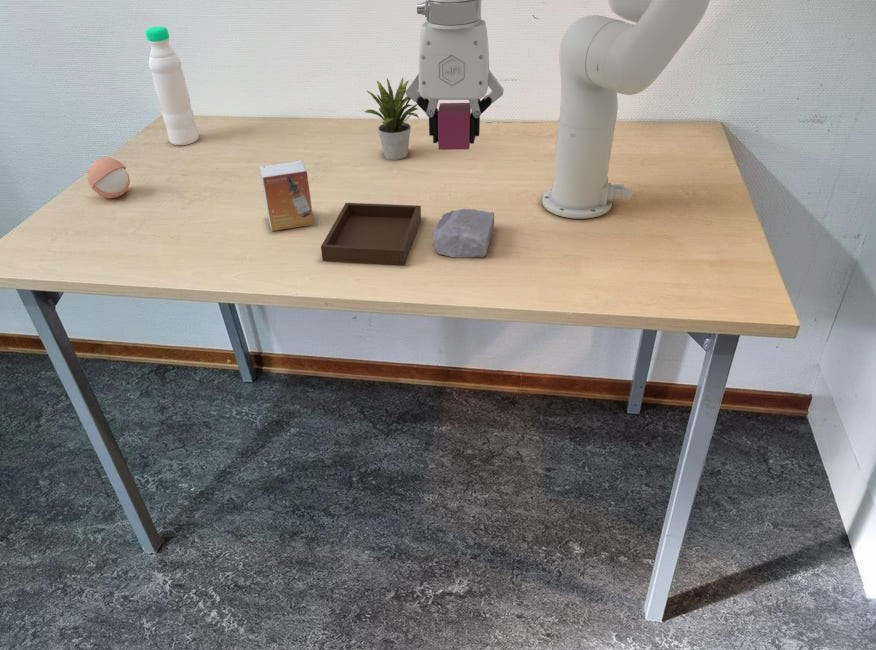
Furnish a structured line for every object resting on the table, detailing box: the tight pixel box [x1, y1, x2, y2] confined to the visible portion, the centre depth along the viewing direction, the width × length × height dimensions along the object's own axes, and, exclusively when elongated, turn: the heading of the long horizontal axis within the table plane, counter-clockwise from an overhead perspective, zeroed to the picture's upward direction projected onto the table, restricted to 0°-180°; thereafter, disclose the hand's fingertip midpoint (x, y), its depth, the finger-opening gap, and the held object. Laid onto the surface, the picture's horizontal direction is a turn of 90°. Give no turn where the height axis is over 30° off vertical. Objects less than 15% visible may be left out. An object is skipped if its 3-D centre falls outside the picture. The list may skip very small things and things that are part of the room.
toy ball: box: [87, 157, 131, 199], centre depth 134 cm, size 8×8×8 cm
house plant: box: [364, 77, 421, 161], centre depth 140 cm, size 14×14×16 cm
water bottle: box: [145, 26, 200, 146], centre depth 152 cm, size 7×7×25 cm
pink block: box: [437, 102, 472, 151], centre depth 103 cm, size 5×5×6 cm
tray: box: [320, 202, 422, 267], centre depth 116 cm, size 14×17×3 cm
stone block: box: [432, 208, 495, 259], centre depth 114 cm, size 12×5×10 cm
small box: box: [258, 159, 315, 232], centre depth 120 cm, size 8×6×10 cm
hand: (454, 139), depth 104 cm, fingers closed on pink block, 5 cm apart
